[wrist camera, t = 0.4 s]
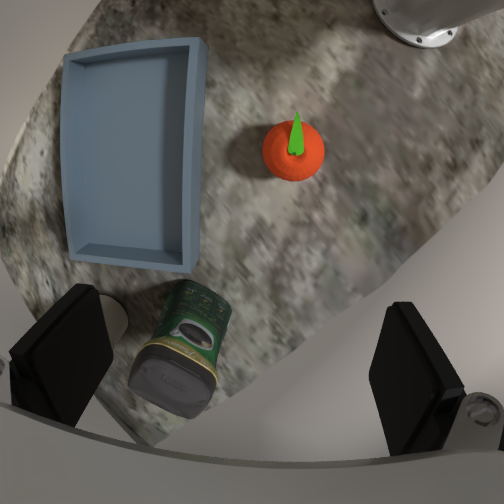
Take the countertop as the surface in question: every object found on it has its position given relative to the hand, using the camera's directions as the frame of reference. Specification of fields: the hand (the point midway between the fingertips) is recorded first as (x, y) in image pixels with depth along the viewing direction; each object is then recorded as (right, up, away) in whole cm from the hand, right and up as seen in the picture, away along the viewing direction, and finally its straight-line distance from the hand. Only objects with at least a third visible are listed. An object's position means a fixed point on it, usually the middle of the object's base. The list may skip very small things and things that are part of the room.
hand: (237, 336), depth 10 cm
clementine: (+5, +16, +28) cm, 33 cm away
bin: (-15, +16, +29) cm, 36 cm away
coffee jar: (-7, -5, +38) cm, 39 cm away
